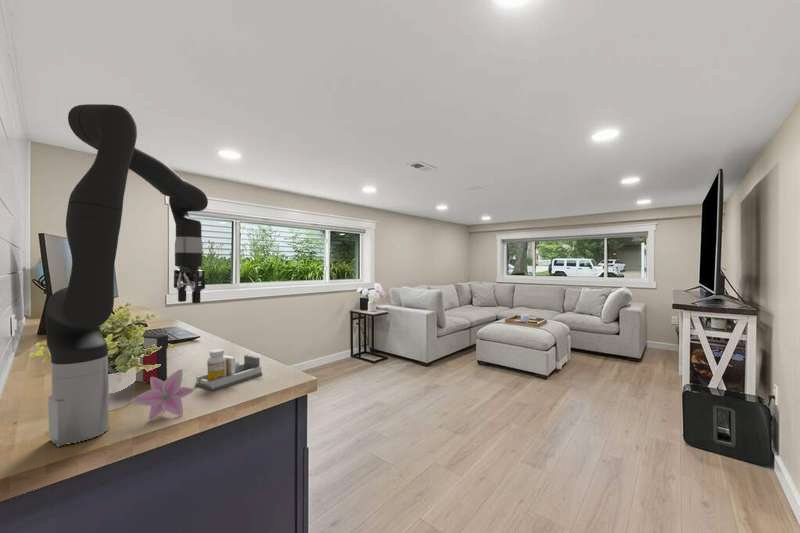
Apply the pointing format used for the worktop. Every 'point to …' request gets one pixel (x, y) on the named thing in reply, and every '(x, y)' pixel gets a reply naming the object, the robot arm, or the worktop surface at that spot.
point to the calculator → (154, 358)
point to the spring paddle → (231, 365)
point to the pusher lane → (243, 373)
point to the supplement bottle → (217, 365)
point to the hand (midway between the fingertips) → (189, 302)
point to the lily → (164, 395)
